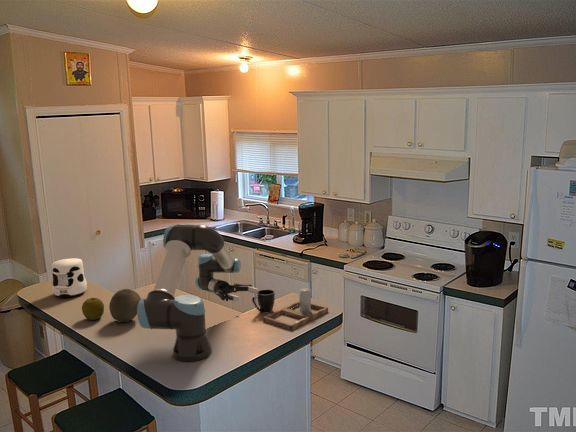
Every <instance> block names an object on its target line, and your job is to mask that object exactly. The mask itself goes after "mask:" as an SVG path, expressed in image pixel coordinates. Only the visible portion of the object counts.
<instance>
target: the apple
mask: <svg viewBox="0 0 576 432" xmlns="http://www.w3.org/2000/svg"><path fill="white" fill-rule="evenodd" d="M81 311H82V315H83V316H84V317H85V319H87V320H91V321H96V320H98V319H100V318H101V317H102V316H103V314H104V312H105V304H104V303H103V301H102V300H101V299H99V298H98V297H90V298H86V300H84V302H83V303H82V306H81Z"/></svg>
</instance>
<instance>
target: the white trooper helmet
mask: <svg viewBox="0 0 576 432" xmlns="http://www.w3.org/2000/svg"><path fill="white" fill-rule="evenodd" d="M84 271H85V270H84V262H83V260H82V259H81V258H76V257H75V258H74V257H72V258H64V259H63V258H62V259H59V260H55V261H54V262H52V263H51V274H52V285H51V288H52V289H51V290H52V293H53V295H54V296H56V297H58V298H69V297H70V298H71V297H75V296H79V295H81V294H84V293H85V292H86V291H87V288H88V284H87V283H88V282H87V279H86V277H85V273H84Z"/></svg>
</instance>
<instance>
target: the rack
mask: <svg viewBox="0 0 576 432" xmlns="http://www.w3.org/2000/svg"><path fill="white" fill-rule="evenodd" d="M297 305H299V300H297V301H295V302H293V303H291V304H289V305H287V306H285V307H283V308H280V309H278V310H275V311H272V312H270V313H268V314H267V315H265V316H263V317H262V322H263V323H268V324H270V323H271V325H273V324H274V326H276V325H277V327H279V326H280V328H282V327H283V329H286V330H289V331H294V330H295V329H297V328H299V327H301V326H303V325H305V324H307V323H309V322H311V321H313V320H315V319H316V318H318V317H321V316H323V315H324V314H326V313H328V312H329V307H327V306H322V305H319V304H315V303H312V302H311V307H312V308H311V309H313V308H314V310H316V309H317V311H315V312H314V313H312V314H305V313H302V312H300V311H298V310H295V309H294V308H293V307H295V306H297ZM291 308H293V309H291ZM295 308H296V307H295ZM281 313H284V314H287V315H286V316H288V315H290V316H289V317H291V316H293V317H292V318H294V317H296V318H295V319H298V318H299V319H298V320H296V321H295V322H294V323H292V324H289V323H286V322H284V321H281V320H276V319H274V318H276V317H278V316H280V315H282V314H281ZM279 314H280V315H279ZM284 314H283V315H284ZM277 315H278V316H277ZM275 316H276V317H275ZM273 317H274V318H273ZM271 318H272V319H271Z"/></svg>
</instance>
